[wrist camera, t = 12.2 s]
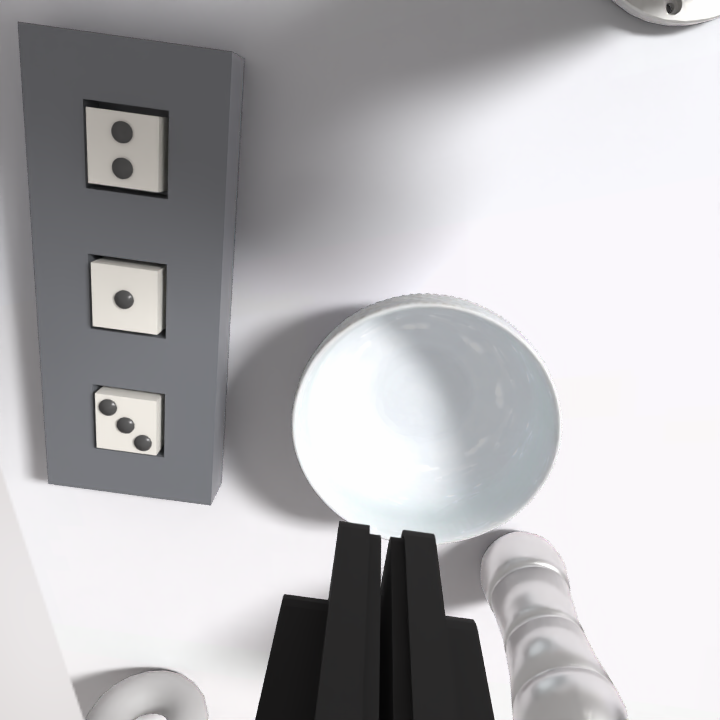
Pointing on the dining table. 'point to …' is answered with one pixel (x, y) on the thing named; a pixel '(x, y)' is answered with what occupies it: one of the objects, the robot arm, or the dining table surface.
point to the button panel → (133, 252)
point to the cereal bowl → (426, 419)
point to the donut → (151, 698)
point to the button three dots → (130, 420)
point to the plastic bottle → (544, 634)
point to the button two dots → (127, 149)
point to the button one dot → (129, 294)
